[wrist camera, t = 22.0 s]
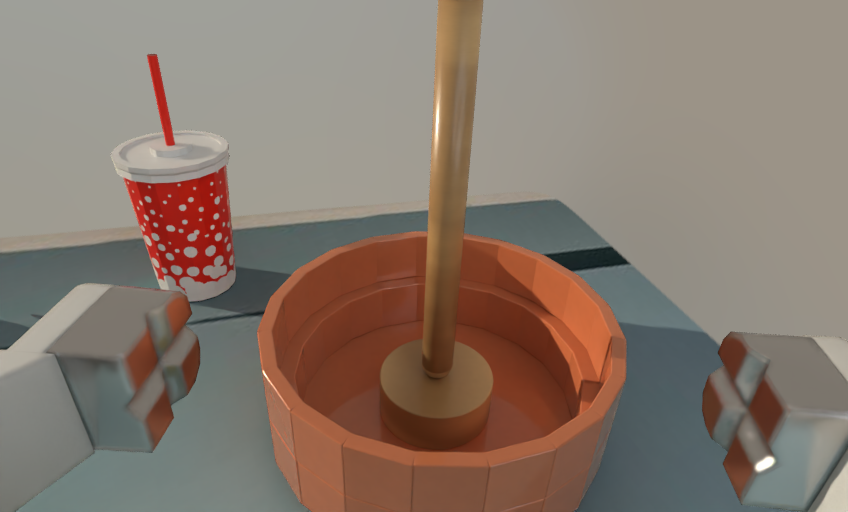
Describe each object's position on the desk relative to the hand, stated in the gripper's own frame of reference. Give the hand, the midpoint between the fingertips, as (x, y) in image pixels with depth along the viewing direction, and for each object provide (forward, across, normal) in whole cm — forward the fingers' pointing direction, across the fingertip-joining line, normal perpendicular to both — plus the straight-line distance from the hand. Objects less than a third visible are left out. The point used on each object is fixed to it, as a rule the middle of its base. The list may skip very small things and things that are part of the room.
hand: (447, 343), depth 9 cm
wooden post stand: (+12, 0, +14) cm, 19 cm away
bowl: (+12, 0, +15) cm, 20 cm away
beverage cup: (+22, +16, +15) cm, 31 cm away
